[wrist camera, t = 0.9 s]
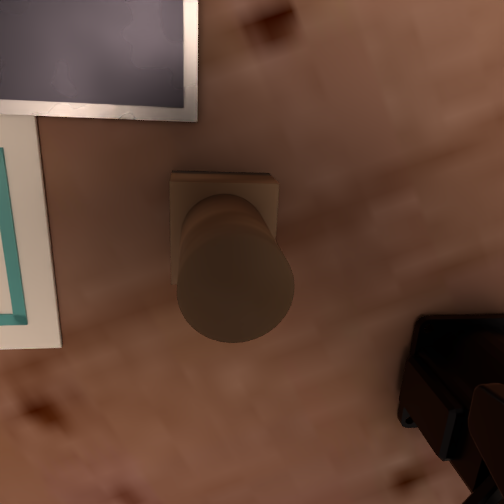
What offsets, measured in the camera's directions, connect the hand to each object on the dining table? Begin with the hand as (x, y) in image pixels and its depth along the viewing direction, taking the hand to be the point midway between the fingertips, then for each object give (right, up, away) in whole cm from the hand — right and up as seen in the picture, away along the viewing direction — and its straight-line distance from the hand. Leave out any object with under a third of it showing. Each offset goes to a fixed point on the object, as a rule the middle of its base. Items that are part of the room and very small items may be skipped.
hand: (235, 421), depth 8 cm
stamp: (-1, +4, +11) cm, 12 cm away
